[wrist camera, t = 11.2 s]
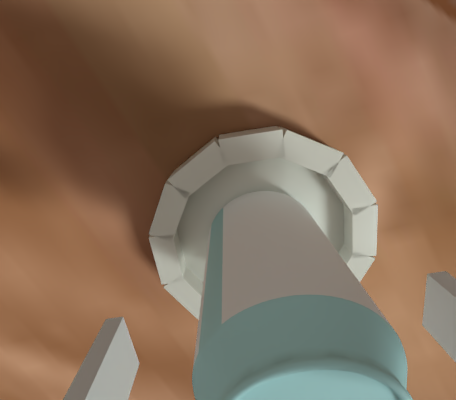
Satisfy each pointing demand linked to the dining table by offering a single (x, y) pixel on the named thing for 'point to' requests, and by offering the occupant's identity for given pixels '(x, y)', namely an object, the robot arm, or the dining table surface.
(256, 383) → the can
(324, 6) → the dining table surface
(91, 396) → the robot arm
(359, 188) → the saucer
